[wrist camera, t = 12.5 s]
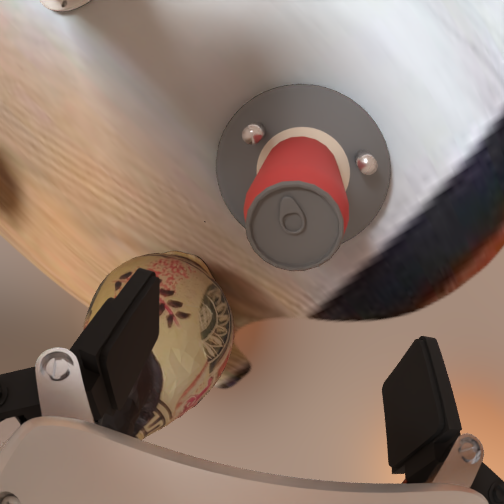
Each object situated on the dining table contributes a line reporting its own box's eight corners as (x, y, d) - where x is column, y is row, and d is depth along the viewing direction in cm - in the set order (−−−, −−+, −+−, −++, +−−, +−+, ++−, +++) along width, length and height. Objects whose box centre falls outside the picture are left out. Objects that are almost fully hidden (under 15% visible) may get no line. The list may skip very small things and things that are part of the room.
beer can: (329, 127, 26) (341, 160, 16) (344, 197, 29) (360, 269, 18) (255, 144, 28) (220, 187, 17) (275, 211, 31) (254, 286, 20)
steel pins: (249, 120, 27) (243, 123, 25) (374, 152, 26) (379, 159, 24) (230, 220, 32) (224, 231, 30) (341, 248, 31) (343, 261, 29)
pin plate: (235, 68, 26) (231, 68, 24) (407, 113, 25) (412, 115, 24) (209, 222, 34) (205, 229, 33) (356, 259, 33) (358, 268, 32)
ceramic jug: (211, 348, 44) (138, 552, 18) (115, 290, 42) (-7, 472, 16) (280, 267, 35) (215, 574, 10) (159, 191, 33) (-58, 427, 8)
